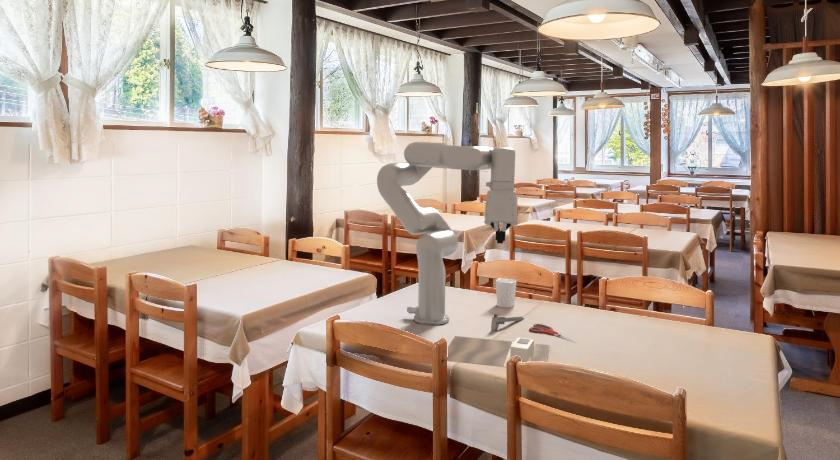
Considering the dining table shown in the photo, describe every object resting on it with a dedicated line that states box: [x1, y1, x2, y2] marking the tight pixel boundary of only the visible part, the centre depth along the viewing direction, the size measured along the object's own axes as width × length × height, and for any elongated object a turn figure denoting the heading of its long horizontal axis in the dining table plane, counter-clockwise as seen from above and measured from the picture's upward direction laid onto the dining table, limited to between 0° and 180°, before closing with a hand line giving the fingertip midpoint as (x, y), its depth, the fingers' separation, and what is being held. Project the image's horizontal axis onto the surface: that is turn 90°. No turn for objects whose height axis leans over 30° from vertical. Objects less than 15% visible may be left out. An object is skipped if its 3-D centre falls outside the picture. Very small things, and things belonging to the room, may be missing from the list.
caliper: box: [490, 313, 525, 332], centre depth 204 cm, size 20×1×6 cm, turn 141°
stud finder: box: [510, 337, 535, 362], centre depth 173 cm, size 5×9×4 cm, turn 158°
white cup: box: [495, 277, 517, 309], centre depth 228 cm, size 8×8×10 cm
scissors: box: [528, 323, 577, 344], centre depth 194 cm, size 8×21×2 cm, turn 45°
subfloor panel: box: [446, 335, 550, 368], centre depth 176 cm, size 30×22×1 cm
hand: (500, 242), depth 190 cm, fingers closed
